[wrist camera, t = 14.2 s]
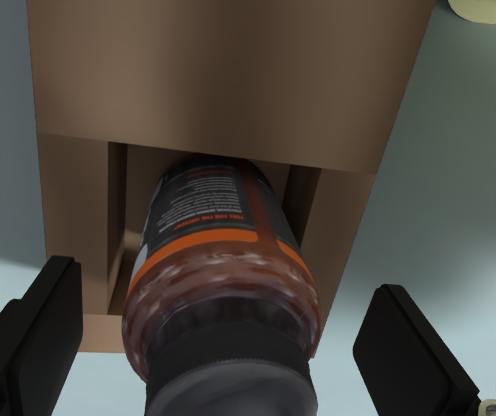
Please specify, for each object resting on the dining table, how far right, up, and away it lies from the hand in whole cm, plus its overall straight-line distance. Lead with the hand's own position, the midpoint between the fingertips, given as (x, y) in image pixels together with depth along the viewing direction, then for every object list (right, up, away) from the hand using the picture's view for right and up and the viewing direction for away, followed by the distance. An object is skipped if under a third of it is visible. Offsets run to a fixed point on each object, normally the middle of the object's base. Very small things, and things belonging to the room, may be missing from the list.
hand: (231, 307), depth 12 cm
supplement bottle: (-1, +3, +7) cm, 8 cm away
